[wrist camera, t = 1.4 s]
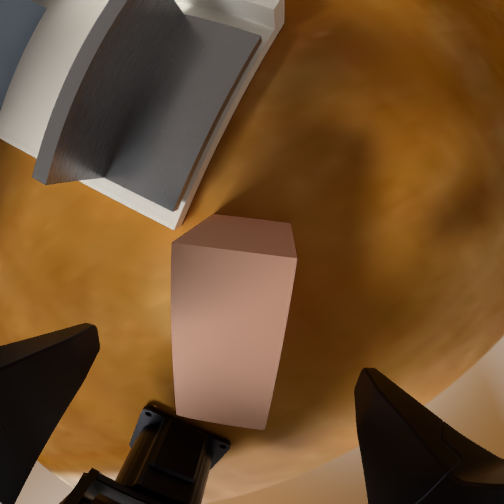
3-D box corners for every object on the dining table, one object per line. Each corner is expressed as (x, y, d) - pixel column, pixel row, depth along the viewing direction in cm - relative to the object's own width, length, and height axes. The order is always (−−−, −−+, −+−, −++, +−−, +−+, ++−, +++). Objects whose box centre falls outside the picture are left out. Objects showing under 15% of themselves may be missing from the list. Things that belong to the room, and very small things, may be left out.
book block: (270, 353, 15) (264, 430, 10) (206, 343, 15) (176, 415, 10) (290, 222, 13) (297, 258, 8) (213, 213, 13) (171, 242, 8)
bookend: (177, 209, 12) (127, 231, 8) (98, 171, 12) (32, 177, 8) (262, 41, 10) (252, -15, 6) (173, 16, 10) (133, -32, 5)
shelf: (181, 226, 14) (107, 271, 7) (-19, 123, 13) (-82, 125, 7) (284, 23, 10) (284, -65, 4) (40, -8, 10) (-13, -34, 4)
